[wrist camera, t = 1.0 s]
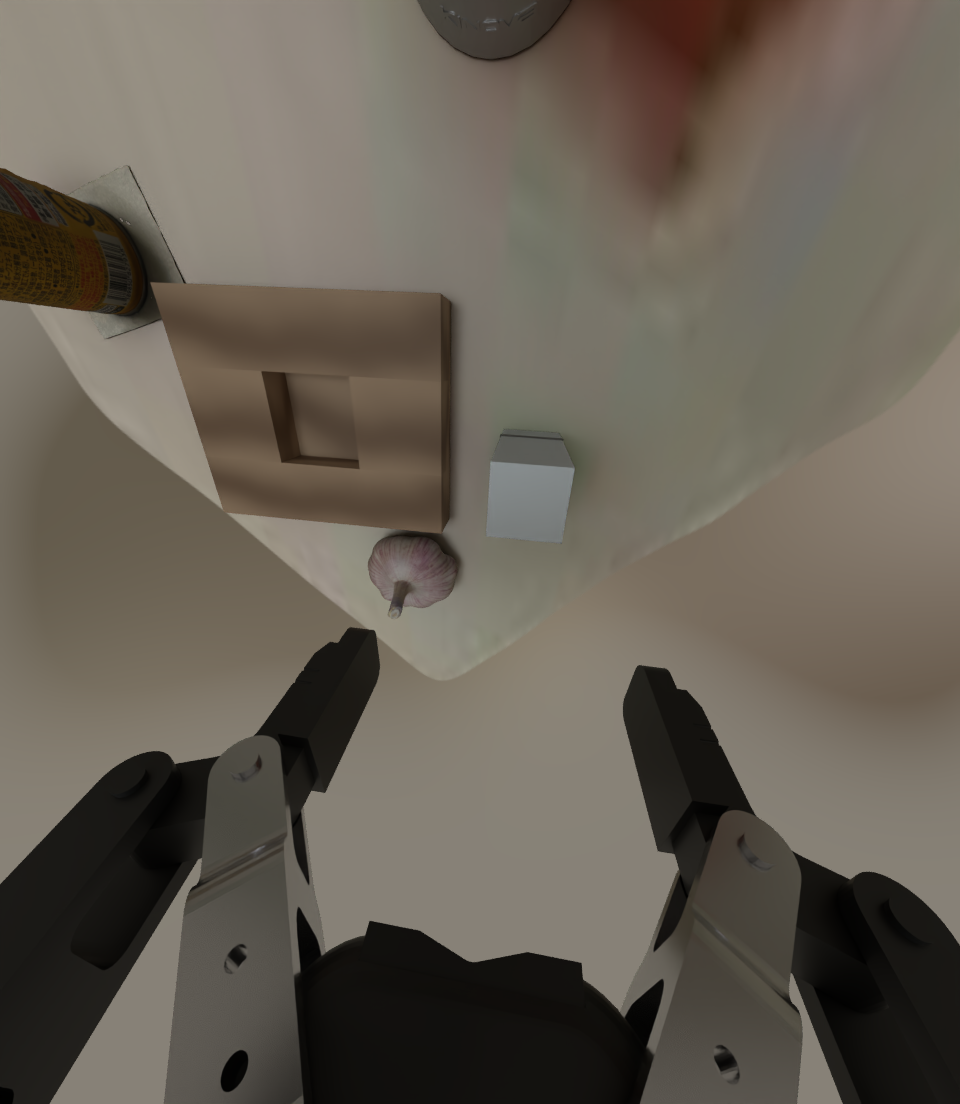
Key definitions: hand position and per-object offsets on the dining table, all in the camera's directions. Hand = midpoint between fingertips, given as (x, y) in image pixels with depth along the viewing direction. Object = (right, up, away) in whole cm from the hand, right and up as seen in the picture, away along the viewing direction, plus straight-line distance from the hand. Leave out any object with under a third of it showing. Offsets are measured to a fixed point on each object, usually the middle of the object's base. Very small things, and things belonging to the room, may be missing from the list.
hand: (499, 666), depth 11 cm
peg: (+3, +11, +16) cm, 19 cm away
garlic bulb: (-6, +3, +21) cm, 22 cm away
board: (-12, +14, +16) cm, 24 cm away
